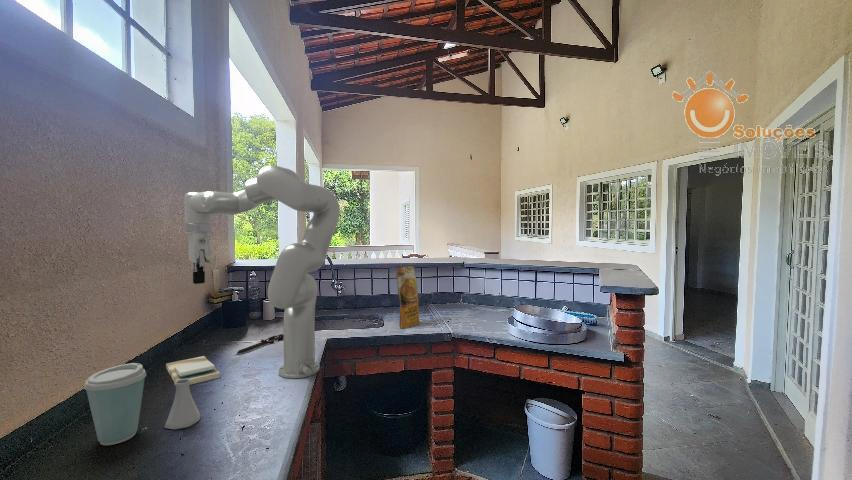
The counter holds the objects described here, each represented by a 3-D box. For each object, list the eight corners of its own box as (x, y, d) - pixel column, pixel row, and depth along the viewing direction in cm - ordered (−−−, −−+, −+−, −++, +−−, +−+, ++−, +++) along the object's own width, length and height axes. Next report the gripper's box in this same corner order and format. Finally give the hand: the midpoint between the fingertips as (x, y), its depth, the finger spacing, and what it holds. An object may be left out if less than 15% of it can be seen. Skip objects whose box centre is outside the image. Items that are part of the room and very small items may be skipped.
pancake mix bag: (390, 328, 173) (391, 267, 172) (412, 319, 189) (413, 264, 188) (403, 330, 169) (403, 268, 168) (424, 321, 186) (424, 265, 185)
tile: (207, 360, 123) (207, 363, 123) (174, 366, 117) (174, 370, 117) (214, 365, 116) (214, 369, 116) (180, 372, 110) (180, 377, 110)
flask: (175, 415, 93) (175, 375, 92) (206, 414, 93) (206, 374, 93) (157, 431, 86) (156, 388, 85) (191, 430, 86) (190, 387, 86)
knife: (237, 357, 135) (237, 353, 135) (225, 354, 138) (225, 350, 137) (291, 338, 157) (291, 335, 157) (280, 336, 160) (280, 333, 160)
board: (219, 377, 116) (219, 372, 116) (177, 387, 108) (177, 382, 108) (204, 360, 130) (204, 355, 130) (166, 368, 123) (166, 363, 123)
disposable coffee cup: (96, 457, 76) (94, 384, 75) (77, 441, 81) (75, 372, 81) (156, 433, 85) (154, 367, 84) (135, 420, 90) (133, 358, 90)
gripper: (216, 229, 124) (217, 284, 125) (205, 229, 135) (206, 279, 136) (189, 229, 119) (190, 287, 120) (180, 228, 130) (181, 281, 131)
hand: (198, 283), depth 128 cm, fingers closed
